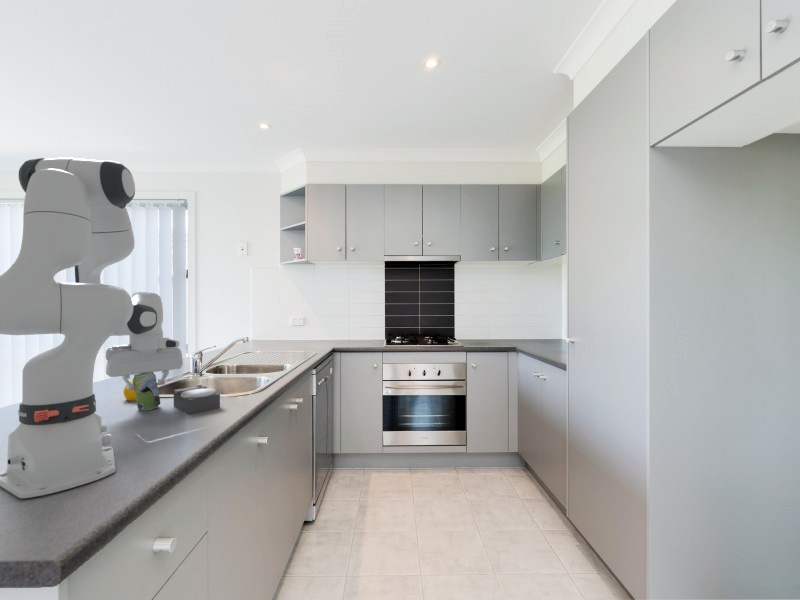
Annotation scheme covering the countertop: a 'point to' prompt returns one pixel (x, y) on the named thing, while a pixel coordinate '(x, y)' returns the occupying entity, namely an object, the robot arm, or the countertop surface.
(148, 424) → the countertop surface
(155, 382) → the beverage can
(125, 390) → the apple
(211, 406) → the body block
